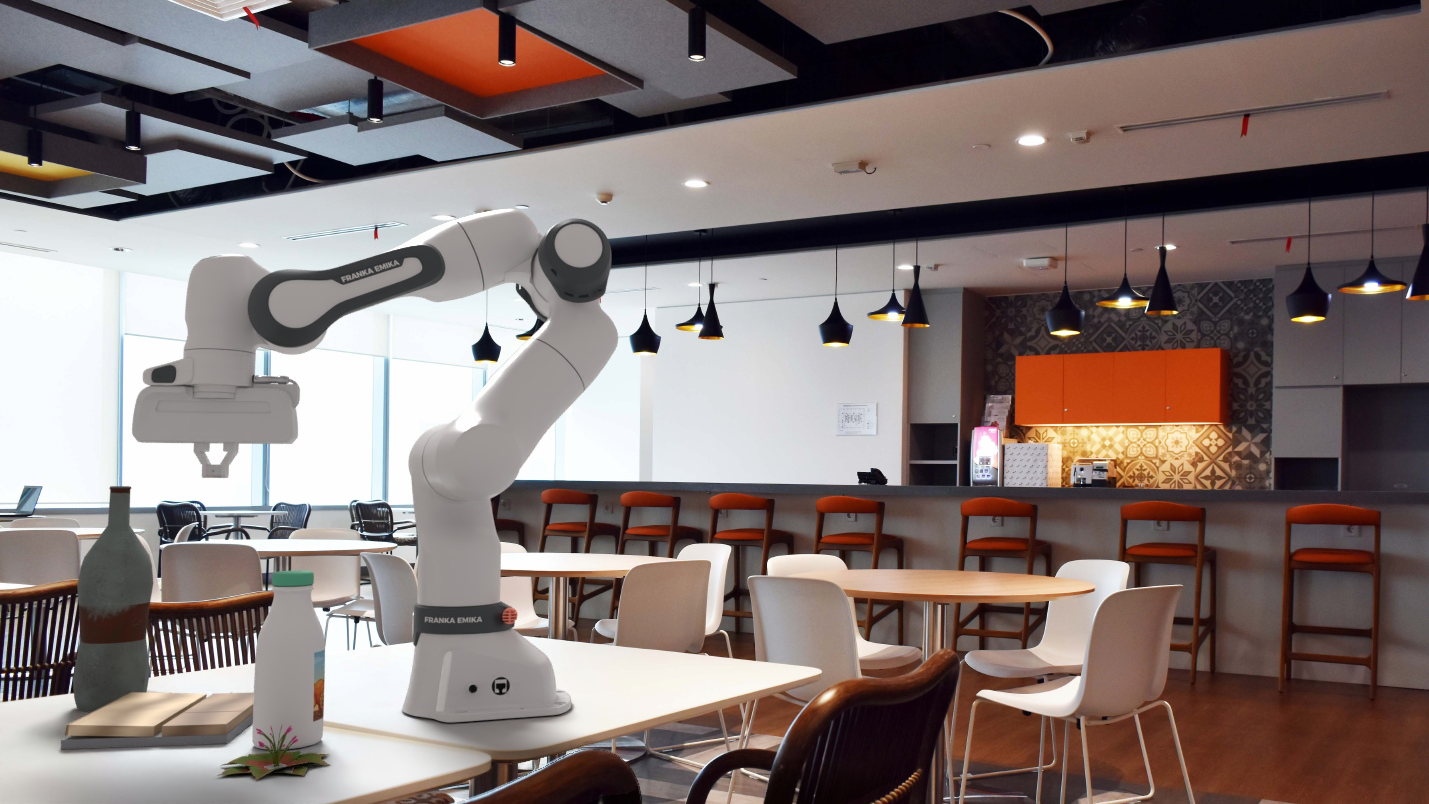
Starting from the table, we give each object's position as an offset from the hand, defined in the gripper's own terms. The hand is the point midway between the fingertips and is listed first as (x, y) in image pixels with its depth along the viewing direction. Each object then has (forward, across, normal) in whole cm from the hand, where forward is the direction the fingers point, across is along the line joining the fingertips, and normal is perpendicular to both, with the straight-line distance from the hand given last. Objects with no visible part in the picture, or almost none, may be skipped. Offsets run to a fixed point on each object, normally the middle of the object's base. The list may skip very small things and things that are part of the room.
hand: (215, 478), depth 142 cm
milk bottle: (+31, -14, +17) cm, 38 cm away
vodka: (+31, +15, -9) cm, 36 cm away
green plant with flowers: (+32, -15, +27) cm, 45 cm away
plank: (+30, +6, +6) cm, 31 cm away
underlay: (+31, +2, +6) cm, 32 cm away
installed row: (+30, -3, +6) cm, 31 cm away
